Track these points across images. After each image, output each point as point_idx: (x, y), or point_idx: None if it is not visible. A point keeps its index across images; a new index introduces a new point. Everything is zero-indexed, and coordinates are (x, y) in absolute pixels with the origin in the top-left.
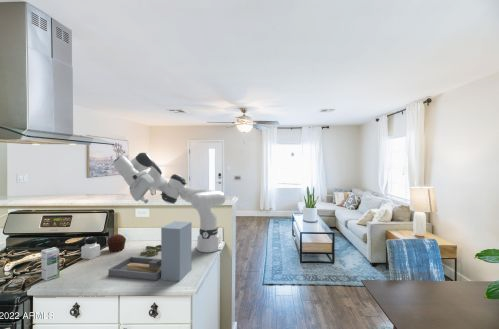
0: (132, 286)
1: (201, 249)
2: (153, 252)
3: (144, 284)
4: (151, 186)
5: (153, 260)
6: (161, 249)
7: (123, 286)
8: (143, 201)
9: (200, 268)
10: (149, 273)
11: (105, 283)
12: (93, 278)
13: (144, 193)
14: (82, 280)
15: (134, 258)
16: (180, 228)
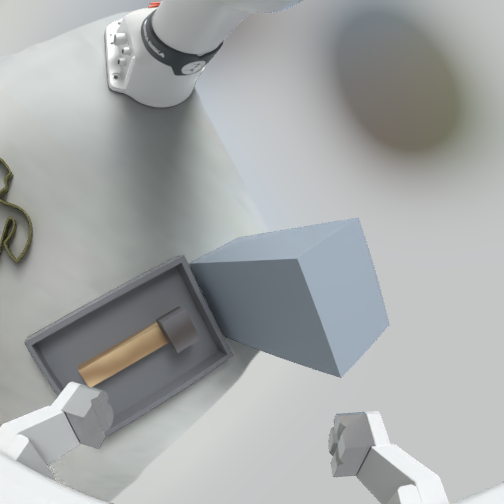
0: (204, 406)
1: (159, 101)
2: (15, 226)
3: (216, 381)
4: (440, 501)
5: (174, 334)
6: (279, 356)
7: (187, 422)
8: (65, 438)
9: (251, 215)
10: (214, 368)
11: (136, 449)
12: (80, 460)
13: (65, 501)
14: (76, 479)
15: (44, 337)
16: (387, 319)
